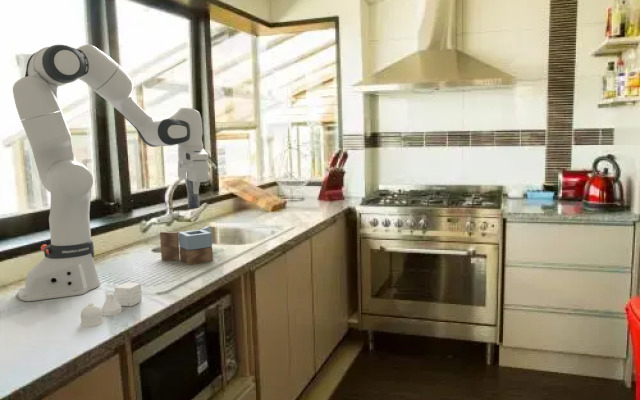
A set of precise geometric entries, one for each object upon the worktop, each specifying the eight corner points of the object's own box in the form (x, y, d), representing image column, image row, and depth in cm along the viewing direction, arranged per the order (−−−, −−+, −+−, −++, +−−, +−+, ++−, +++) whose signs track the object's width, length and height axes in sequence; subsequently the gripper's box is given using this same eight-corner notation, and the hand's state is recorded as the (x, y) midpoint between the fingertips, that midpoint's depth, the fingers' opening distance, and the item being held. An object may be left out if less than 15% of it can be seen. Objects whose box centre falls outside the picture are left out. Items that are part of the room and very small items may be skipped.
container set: (126, 300, 147) (125, 282, 146) (142, 302, 146) (141, 283, 145) (76, 327, 128) (74, 305, 127) (94, 328, 127) (92, 307, 126)
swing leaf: (188, 263, 184) (187, 236, 182) (175, 256, 195) (173, 230, 194) (226, 257, 192) (225, 231, 190) (211, 250, 203) (209, 225, 202)
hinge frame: (174, 267, 181) (172, 238, 179) (160, 259, 192) (159, 232, 191) (212, 260, 189) (211, 233, 187) (198, 253, 200) (196, 227, 199)
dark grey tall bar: (190, 208, 184) (188, 171, 183) (186, 207, 188) (184, 171, 186) (201, 207, 187) (199, 171, 185) (197, 206, 190) (195, 170, 188)
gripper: (172, 153, 191) (174, 191, 193) (192, 155, 174) (194, 196, 176) (189, 153, 195) (190, 189, 197) (210, 154, 178) (212, 194, 180)
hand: (192, 193), depth 186 cm, fingers closed on dark grey tall bar, 4 cm apart
